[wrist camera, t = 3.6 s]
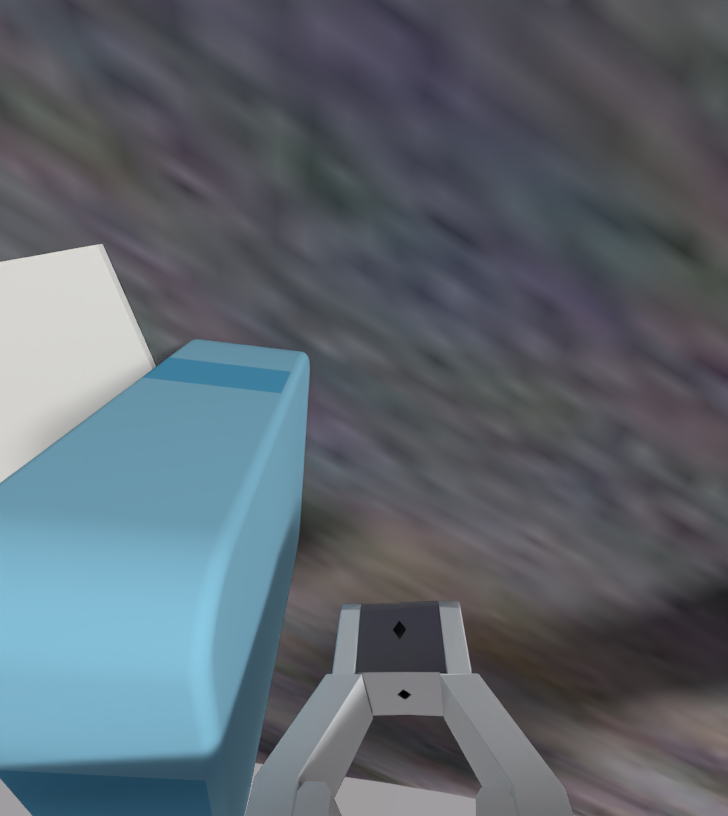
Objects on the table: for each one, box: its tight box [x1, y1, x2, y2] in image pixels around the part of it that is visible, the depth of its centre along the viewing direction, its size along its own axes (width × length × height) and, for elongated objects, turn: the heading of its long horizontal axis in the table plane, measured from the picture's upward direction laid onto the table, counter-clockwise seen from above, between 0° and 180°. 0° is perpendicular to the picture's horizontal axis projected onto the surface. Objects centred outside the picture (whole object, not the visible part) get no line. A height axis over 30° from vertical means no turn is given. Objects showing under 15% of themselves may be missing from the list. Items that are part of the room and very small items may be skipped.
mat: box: [0, 244, 156, 483], centre depth 20 cm, size 14×22×1 cm, turn 9°
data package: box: [0, 339, 310, 816], centre depth 13 cm, size 12×4×12 cm, turn 173°
